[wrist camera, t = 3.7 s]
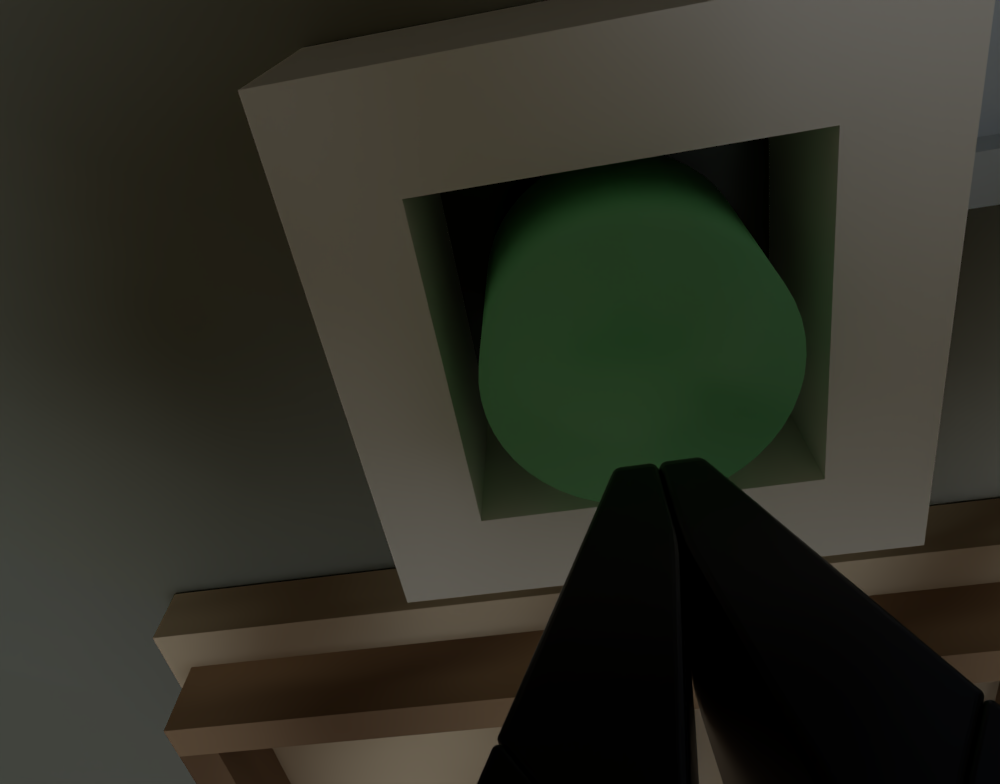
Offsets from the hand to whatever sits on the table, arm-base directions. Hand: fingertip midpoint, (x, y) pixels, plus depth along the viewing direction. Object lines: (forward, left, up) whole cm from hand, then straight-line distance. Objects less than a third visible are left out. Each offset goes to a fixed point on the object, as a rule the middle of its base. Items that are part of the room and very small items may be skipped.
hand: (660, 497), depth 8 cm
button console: (0, 0, -6) cm, 6 cm away
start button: (0, 0, -5) cm, 5 cm away
